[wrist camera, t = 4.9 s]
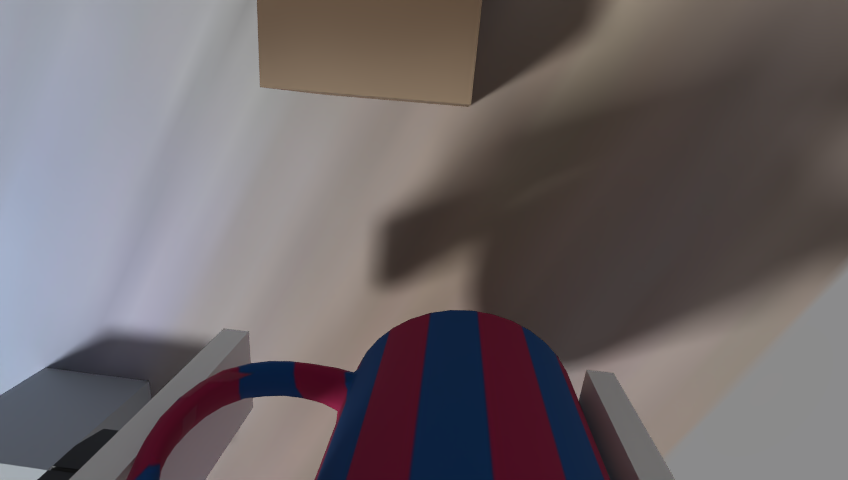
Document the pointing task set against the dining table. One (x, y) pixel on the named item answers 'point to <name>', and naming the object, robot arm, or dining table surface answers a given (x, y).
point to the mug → (420, 406)
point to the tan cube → (371, 48)
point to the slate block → (61, 416)
